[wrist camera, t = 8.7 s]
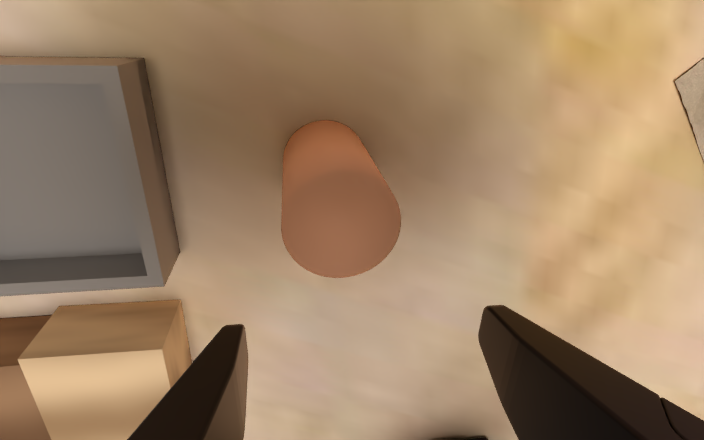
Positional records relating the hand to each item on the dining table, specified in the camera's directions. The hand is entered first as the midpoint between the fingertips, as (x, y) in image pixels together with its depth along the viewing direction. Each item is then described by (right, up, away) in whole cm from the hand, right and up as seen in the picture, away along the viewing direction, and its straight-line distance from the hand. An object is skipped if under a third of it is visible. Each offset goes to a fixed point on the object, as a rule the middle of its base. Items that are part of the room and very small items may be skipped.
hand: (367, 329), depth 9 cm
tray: (-14, +5, +9) cm, 17 cm away
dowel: (-2, +5, +11) cm, 12 cm away
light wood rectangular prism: (-13, -6, +15) cm, 20 cm away
